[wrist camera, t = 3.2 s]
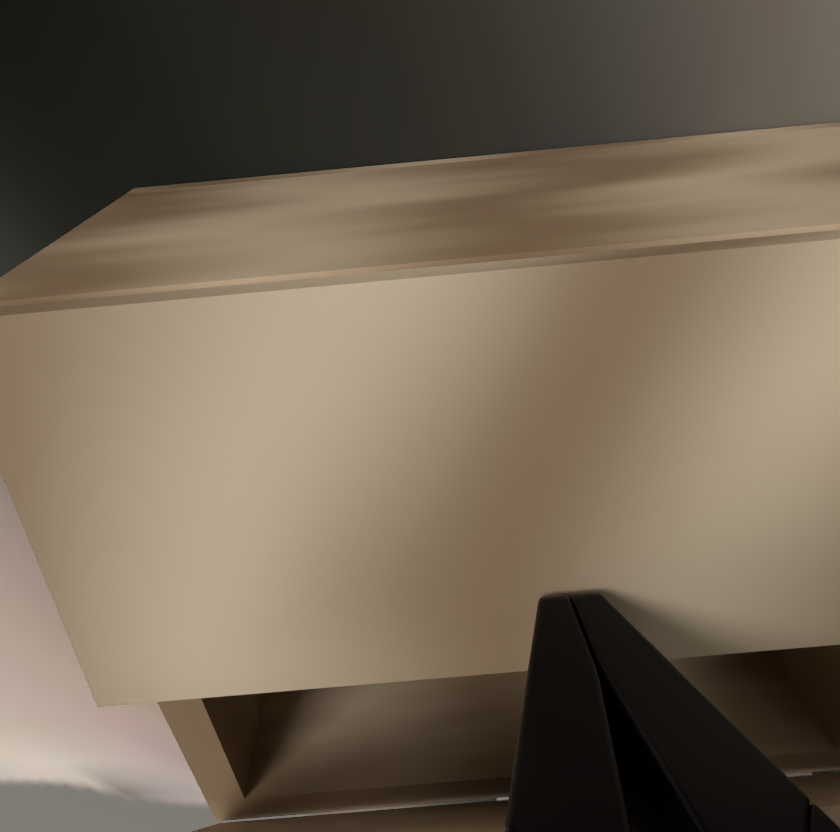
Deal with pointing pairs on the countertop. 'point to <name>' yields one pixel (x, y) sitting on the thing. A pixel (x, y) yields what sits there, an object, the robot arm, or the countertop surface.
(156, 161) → the countertop surface
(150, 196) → the cardboard box
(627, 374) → the flap
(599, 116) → the countertop surface
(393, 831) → the flap
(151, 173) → the countertop surface
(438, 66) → the countertop surface
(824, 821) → the robot arm
